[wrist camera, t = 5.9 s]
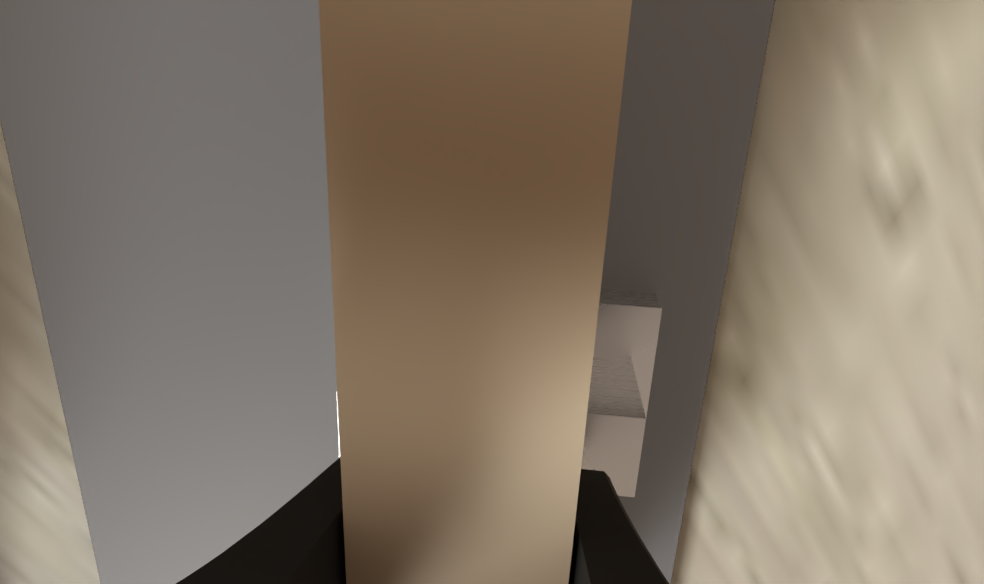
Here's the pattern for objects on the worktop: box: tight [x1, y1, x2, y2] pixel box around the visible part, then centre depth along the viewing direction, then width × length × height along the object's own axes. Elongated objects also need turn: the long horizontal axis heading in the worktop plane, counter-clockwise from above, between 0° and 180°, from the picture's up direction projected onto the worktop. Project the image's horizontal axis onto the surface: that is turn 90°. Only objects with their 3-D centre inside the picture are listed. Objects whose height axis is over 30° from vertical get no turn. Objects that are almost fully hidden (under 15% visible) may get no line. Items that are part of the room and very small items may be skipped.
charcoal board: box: [0, 0, 775, 584], centre depth 17 cm, size 21×17×1 cm
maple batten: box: [319, 0, 632, 584], centre depth 11 cm, size 20×3×4 cm, turn 178°
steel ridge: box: [336, 289, 662, 497], centre depth 14 cm, size 4×7×4 cm, turn 88°
